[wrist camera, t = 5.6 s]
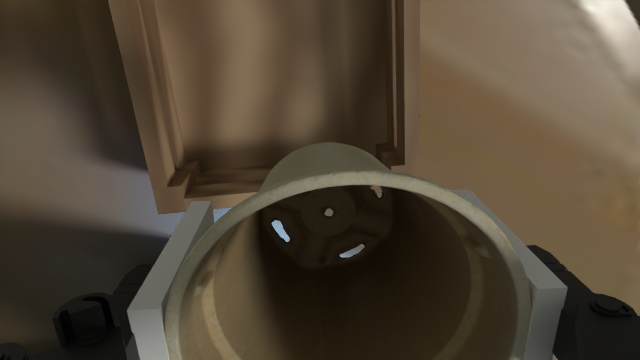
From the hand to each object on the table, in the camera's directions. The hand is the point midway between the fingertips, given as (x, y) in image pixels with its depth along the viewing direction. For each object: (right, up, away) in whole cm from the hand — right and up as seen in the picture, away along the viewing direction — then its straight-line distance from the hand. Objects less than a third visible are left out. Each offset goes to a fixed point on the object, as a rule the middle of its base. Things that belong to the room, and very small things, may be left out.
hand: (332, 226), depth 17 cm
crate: (-4, +12, +17) cm, 21 cm away
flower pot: (0, +1, +2) cm, 2 cm away
